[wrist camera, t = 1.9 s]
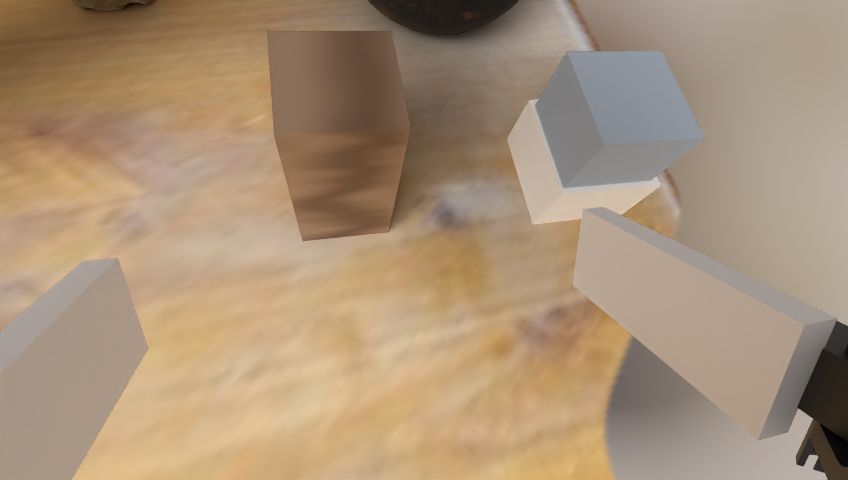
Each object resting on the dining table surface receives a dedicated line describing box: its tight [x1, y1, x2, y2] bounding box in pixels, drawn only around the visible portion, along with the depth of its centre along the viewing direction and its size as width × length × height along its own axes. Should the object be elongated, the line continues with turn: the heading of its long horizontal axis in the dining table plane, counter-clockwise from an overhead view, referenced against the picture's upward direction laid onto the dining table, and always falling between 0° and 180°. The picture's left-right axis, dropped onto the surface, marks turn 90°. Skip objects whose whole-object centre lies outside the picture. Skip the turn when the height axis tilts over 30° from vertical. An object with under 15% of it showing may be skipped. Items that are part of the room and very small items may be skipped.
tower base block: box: [507, 99, 661, 224], centre depth 32 cm, size 8×8×5 cm
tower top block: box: [535, 51, 705, 188], centre depth 28 cm, size 7×7×5 cm
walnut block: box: [267, 31, 411, 241], centre depth 25 cm, size 6×6×12 cm
